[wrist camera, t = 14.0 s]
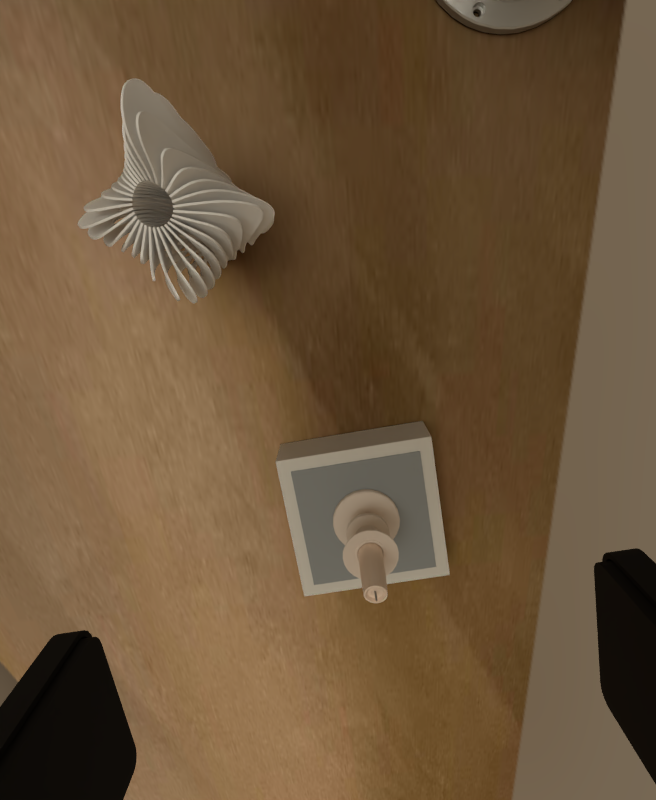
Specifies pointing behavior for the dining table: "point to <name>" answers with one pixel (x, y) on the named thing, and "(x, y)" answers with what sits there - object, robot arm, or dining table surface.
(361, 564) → the candle
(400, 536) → the plinth
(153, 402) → the dining table surface
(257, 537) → the dining table surface
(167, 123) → the shell sculpture
